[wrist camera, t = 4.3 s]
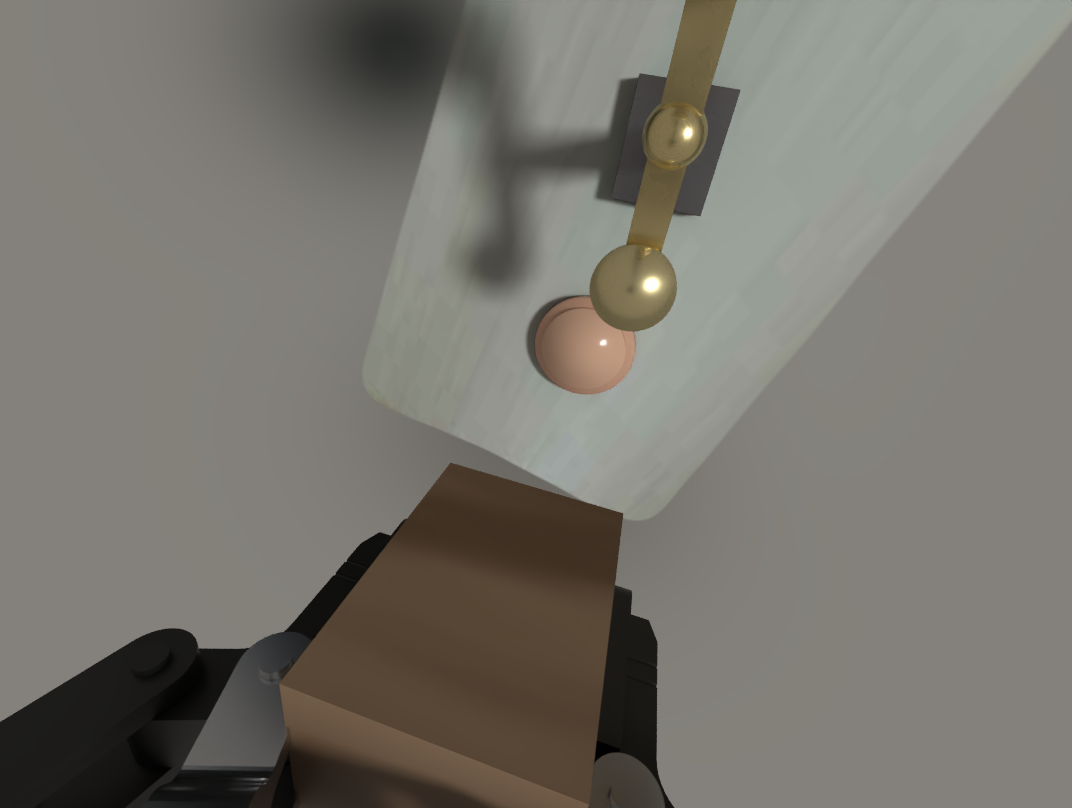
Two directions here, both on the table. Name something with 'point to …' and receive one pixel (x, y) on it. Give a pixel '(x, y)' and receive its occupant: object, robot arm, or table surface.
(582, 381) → the terracotta dish
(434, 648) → the walnut block
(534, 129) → the table surface
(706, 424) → the table surface
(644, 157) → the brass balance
